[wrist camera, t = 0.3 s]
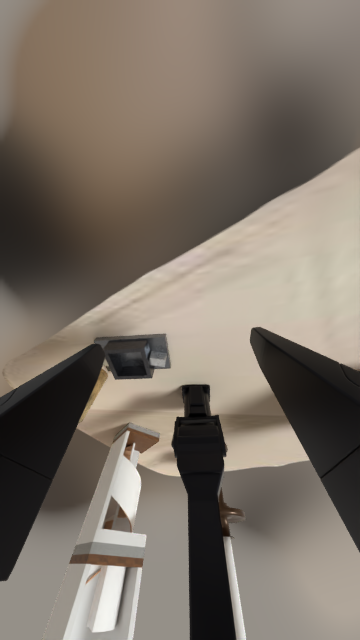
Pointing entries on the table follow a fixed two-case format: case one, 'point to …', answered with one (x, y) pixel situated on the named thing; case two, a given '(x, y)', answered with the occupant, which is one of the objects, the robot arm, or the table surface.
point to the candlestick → (232, 561)
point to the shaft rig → (135, 355)
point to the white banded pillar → (106, 552)
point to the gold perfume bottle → (95, 392)
